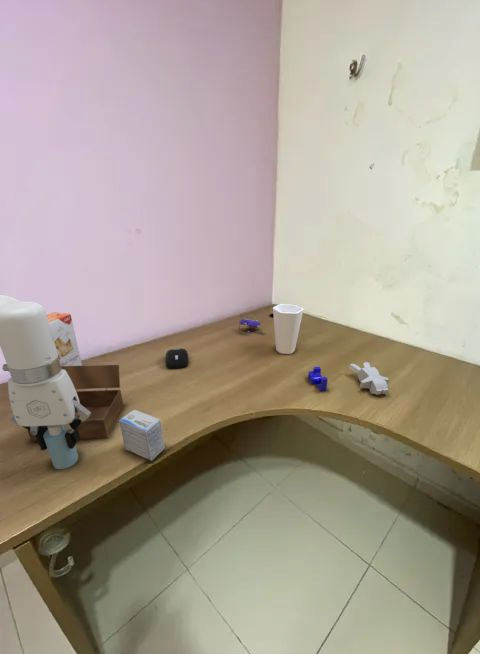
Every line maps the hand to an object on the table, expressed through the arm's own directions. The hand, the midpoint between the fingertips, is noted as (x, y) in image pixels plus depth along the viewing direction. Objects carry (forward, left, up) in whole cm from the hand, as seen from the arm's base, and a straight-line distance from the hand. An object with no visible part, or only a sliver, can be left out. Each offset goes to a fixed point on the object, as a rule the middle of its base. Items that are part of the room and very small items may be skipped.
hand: (60, 444), depth 65 cm
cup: (+57, +52, -5) cm, 77 cm away
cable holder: (+63, +27, -5) cm, 69 cm away
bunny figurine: (+80, +26, -5) cm, 84 cm away
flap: (-2, +20, +4) cm, 21 cm away
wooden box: (-2, +13, -5) cm, 14 cm away
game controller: (+45, +71, -5) cm, 84 cm away
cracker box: (-15, +31, -5) cm, 35 cm away
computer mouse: (+17, +45, -5) cm, 48 cm away
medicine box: (+16, +2, -5) cm, 17 cm away
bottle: (0, 0, -5) cm, 5 cm away
